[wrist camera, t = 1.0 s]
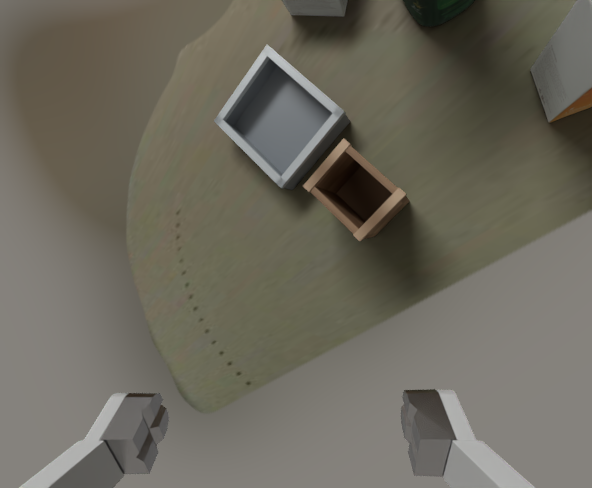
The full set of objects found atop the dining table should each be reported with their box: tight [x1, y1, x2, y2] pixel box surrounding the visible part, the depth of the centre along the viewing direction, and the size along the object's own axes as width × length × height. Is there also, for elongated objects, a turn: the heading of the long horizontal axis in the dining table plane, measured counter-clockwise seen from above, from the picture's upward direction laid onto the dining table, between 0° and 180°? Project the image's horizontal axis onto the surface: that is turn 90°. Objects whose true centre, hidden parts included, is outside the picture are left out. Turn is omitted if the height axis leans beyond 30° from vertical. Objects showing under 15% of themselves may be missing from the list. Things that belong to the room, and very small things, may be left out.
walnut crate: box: [303, 138, 409, 241], centre depth 37 cm, size 6×8×10 cm
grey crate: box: [214, 45, 350, 190], centre depth 43 cm, size 12×14×4 cm
